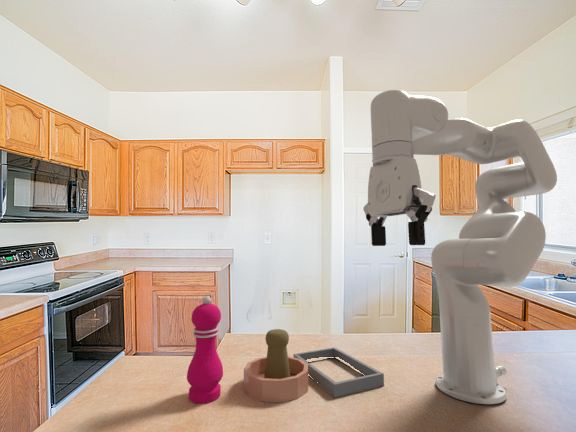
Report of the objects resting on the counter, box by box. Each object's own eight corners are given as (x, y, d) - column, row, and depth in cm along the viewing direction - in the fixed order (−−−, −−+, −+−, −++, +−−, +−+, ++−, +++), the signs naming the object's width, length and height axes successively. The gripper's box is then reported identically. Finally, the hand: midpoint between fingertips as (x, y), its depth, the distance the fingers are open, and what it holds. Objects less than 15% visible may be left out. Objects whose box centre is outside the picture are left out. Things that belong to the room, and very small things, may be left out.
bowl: (291, 369, 75) (291, 352, 75) (319, 393, 62) (319, 373, 63) (237, 379, 69) (237, 361, 70) (256, 408, 57) (256, 385, 57)
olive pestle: (288, 389, 62) (287, 334, 63) (260, 387, 63) (260, 333, 65) (293, 377, 68) (292, 327, 69) (267, 375, 69) (267, 326, 70)
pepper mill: (185, 391, 63) (188, 294, 66) (220, 385, 66) (221, 292, 68) (186, 408, 57) (189, 300, 59) (225, 401, 59) (226, 297, 61)
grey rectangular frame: (334, 356, 83) (334, 347, 83) (384, 385, 65) (383, 373, 66) (293, 364, 78) (293, 354, 78) (334, 397, 60) (334, 384, 61)
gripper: (349, 166, 65) (352, 246, 63) (413, 139, 49) (419, 244, 47) (377, 169, 68) (380, 245, 66) (445, 145, 52) (452, 244, 50)
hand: (396, 245), depth 56 cm, fingers open, 9 cm apart
